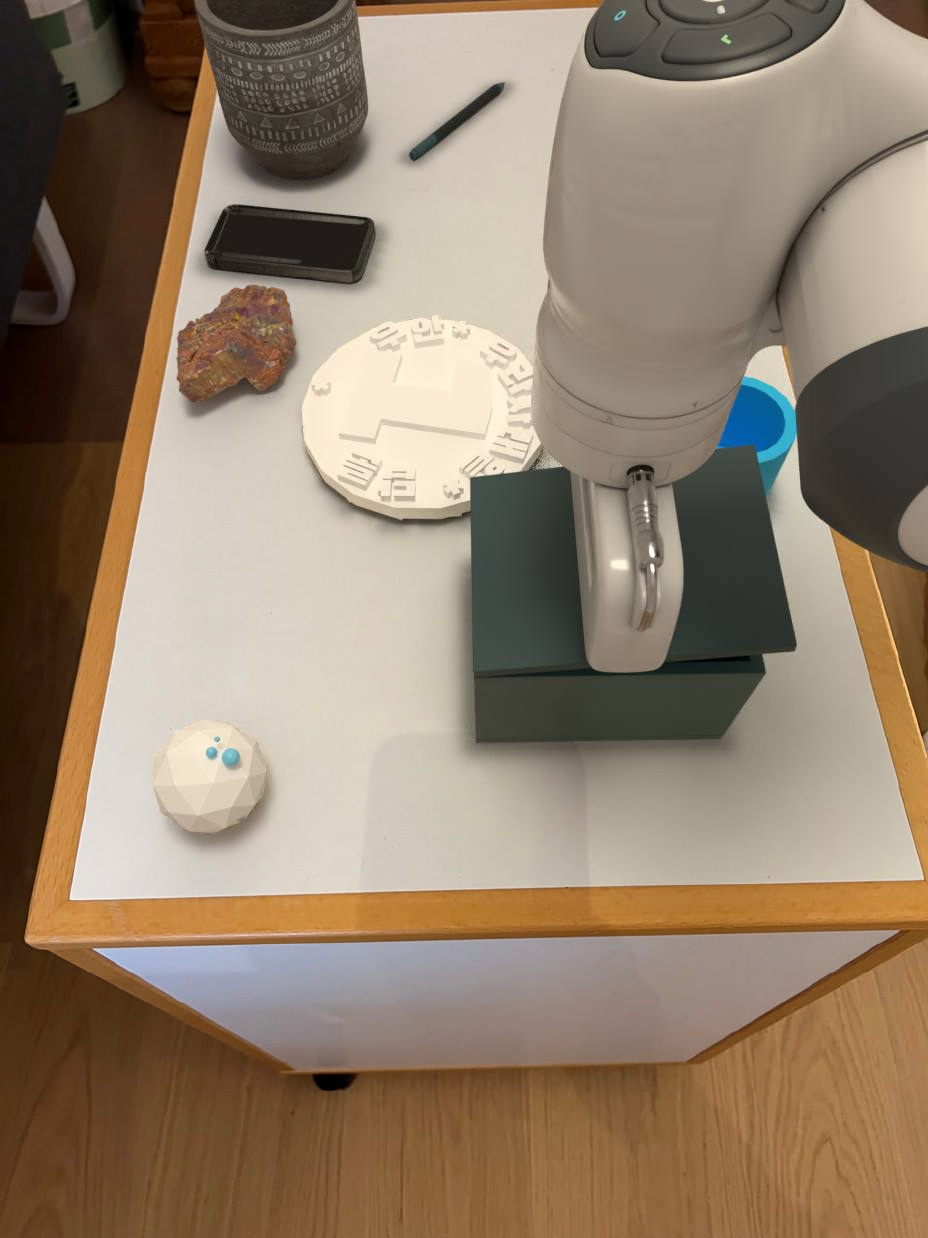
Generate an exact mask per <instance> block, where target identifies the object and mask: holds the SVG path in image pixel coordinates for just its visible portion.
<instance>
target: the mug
mask: <svg viewBox="0 0 928 1238" xmlns="http://www.w3.org/2000/svg"><path fill="white" fill-rule="evenodd" d="M796 439H797V431H796V417H795V407H793V405H792V404H791V402H790V401H789V399H788V398H787V397H786V396H785V395H784V394H783V393H782V392H780V391H779V390H778V389H777V388H776V387H775V386H774V385H771V384H769V383H767V382H765V381H762V380H760V379H758V378H755V377H750V376H745V375H744V377H743V380H742V383H741V385H740V388H739V391H738V394H737V396H736V399H735V402H734V404H733V407H732V409H731V412H730V415H729V417H728V420H727V423H726V425H725V428H724V431H723V434H722V436H721V439H720V441H719V443H718V446H717V447H716V449H719V448H728V447H736V446H745V445H755V447H756V452H757V457H758V462H759V466H760V471H761V476H762V481H763V485H764V490H765V495H766V499H768V496H769V494H770V492H771V490H772V488H773V486H774V483H775V481H776V479H777V478H778V476H779V473H780V471H781V469H782V467H783V465H784V464H785V461H786V459H787V458H788V455H789V453H790V451H791V449H792V446H793V445H794V442H795V440H796Z"/></svg>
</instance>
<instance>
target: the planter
mask: <svg viewBox="0 0 928 1238" xmlns="http://www.w3.org/2000/svg"><path fill="white" fill-rule="evenodd" d="M193 3H194V7H195V11H196V16H197V19H198V22H199V26H200V29H201V34H202V38H203V43H204V47H205V50H206V53H207V58H208V62H209V64H210V68H211V72H212V75H213V79H214V82H215V85H216V92H217V95H218V100H219V103H220V107H221V110H222V114H223V117H224V121H225V124H226V127H227V129H228V131H229V133H230V135H231V136H232V137H233V139H234V140H235V141H236V142H237V143H238V145H239V146H240V147H241V148H242V149H244V151H245V152H246V153H247V154H248V155H249V156H250V157H251V158H252V159H253V160H254V161H256V162H257V163H258V164H259V165H260V166H261V167H262V168H263V169H264V170H266V172H269V174H272V175H274V176H276V177H278V178H283V179H286V180H295V181H296V180H297V181H303V180H305V181H306V180H312V179H313V180H314V179H317V178H321V177H324V176H327V175H329V174H331V173H333V172H335V171H336V170H337V169H340V167H342V166H343V165H344V164H345V162H347V160H348V159H349V157H350V155H351V153H352V151H353V150H354V147H355V146H356V144H357V142H358V140H359V138H360V135H361V133H362V131H363V128H364V126H365V123H366V121H367V118H368V114H369V97H368V87H367V80H366V73H365V66H364V60H363V59H364V58H363V50H362V41H361V32H360V24H359V23H360V22H359V17H358V9H357V3H356V0H193Z"/></svg>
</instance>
